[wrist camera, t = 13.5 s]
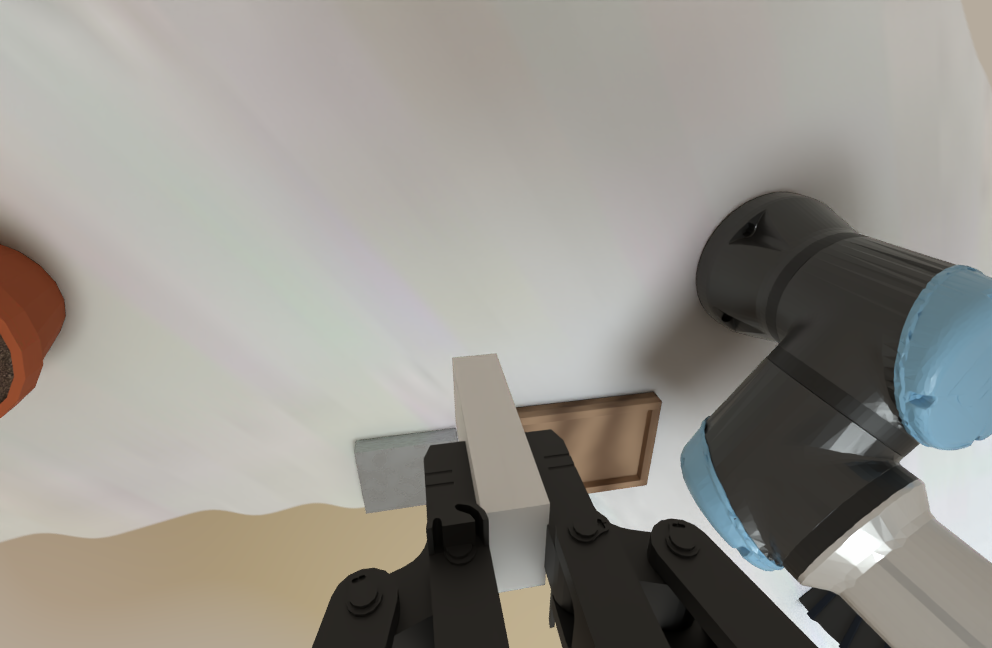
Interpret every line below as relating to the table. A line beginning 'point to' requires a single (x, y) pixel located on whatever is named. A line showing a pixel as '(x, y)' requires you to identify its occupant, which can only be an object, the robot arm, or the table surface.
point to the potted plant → (25, 324)
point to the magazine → (840, 620)
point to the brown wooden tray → (603, 436)
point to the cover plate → (396, 468)
